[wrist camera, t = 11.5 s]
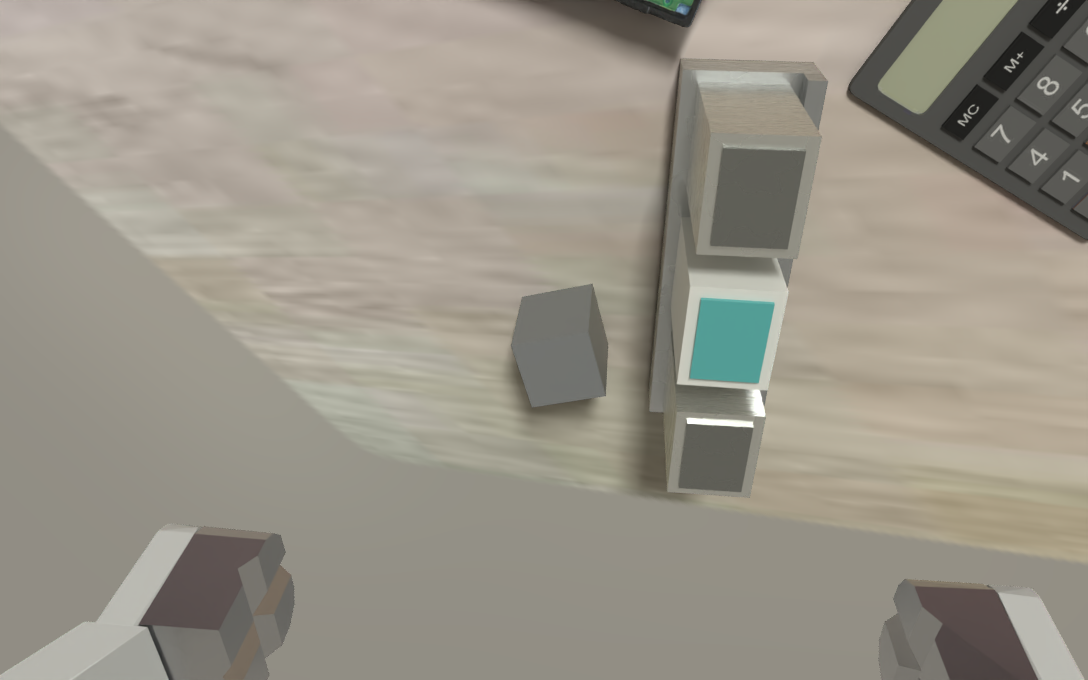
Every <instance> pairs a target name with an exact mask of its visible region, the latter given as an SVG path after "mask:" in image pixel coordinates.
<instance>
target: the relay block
mask: <svg viewBox="0 0 1088 680" xmlns="http://www.w3.org/2000/svg"><path fill="white" fill-rule="evenodd" d="M511 347H512V350H513V353H514V356H515V359H516V362H517V365H518V368H519V371H520V373H521V376H522V379H523V382H524V385H525V388H526V391H527V394H528V397H529V400H530V403H531V406H532V407H538V406H545V405H551V404H558V403H564V402H571V401H577V400H583V399H590V398H596V397H603V396H606V380H607V358H608V342H607V338H606V334H605V330H604V326H603V323H602V319H601V315H600V311H599V307H598V303H597V300H596V296H595V292H594V288H593V284H589V285H584V286H578V287H573V288H568V289H562V290H557V291H552V292H546V293H541V294H536V295H531V296H525V297H522V301H521V305H520V309H519V314H518V318H517V322H516V327H515V331H514V335H513V340H512V344H511Z"/></svg>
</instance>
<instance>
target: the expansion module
mask: <svg viewBox="0 0 1088 680" xmlns="http://www.w3.org/2000/svg"><path fill="white" fill-rule="evenodd" d="M788 293H789V292H788V289H787V286H786V283H785V280H784V277H783V274H782V271H781V268H780V265H779V262H778V259H777V258H763V257H741V256H719V255H698V254H696V250H695V243H694V237H693V230H692V224H691V217H681V224H680V232H679V240H678V248H677V256H676V264H675V272H674V280H673V289H672V297H671V305H670V306H671V318H672V331H673V343H674V355H675V367H676V379H677V384H681V385H695V386H710V387H724V388H739V389H753V390H767V391H768V386H769V382H770V377H771V372H772V368H773V363H774V358H775V354H776V349H777V344H778V340H779V335H780V330H781V326H782V321H783V316H784V312H785V307H786V302H787V298H788Z"/></svg>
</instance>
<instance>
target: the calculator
mask: <svg viewBox="0 0 1088 680" xmlns="http://www.w3.org/2000/svg"><path fill="white" fill-rule="evenodd" d="M849 90H850V92H851V93H852V94H853V95H854V96H856V97H857V98H859V99H861V100H862V101H864V102H865V103H867V104H869V105H870V106H872V107H873V108H875V109H877V110H878V111H880V112H881V113H883V114H885V115H886V116H888V117H890V118H891V119H893V120H894V121H896V122H898V123H899V124H901V125H902V126H904V127H906V128H907V129H909V130H910V131H912V132H914V133H915V134H917V135H918V136H920V137H922V138H923V139H925V140H927V141H928V142H930V143H931V144H933V145H935V146H936V147H938V148H939V149H941V150H943V151H944V152H946V153H947V154H949V155H951V156H952V157H954V158H955V159H957V160H959V161H960V162H962V163H963V164H965V165H967V166H968V167H970V168H972V169H973V170H975V171H976V172H978V173H980V174H981V175H983V176H984V177H986V178H988V179H989V180H991V181H992V182H994V183H996V184H997V185H999V186H1000V187H1002V188H1004V189H1005V190H1007V191H1009V192H1010V193H1012V194H1013V195H1015V196H1017V197H1018V198H1020V199H1021V200H1023V201H1025V202H1026V203H1028V204H1029V205H1031V206H1033V207H1034V208H1036V209H1037V210H1039V211H1041V212H1042V213H1044V214H1046V215H1047V216H1049V217H1050V218H1052V219H1054V220H1055V221H1057V222H1058V223H1060V224H1062V225H1063V226H1065V227H1066V228H1068V229H1070V230H1071V231H1073V232H1074V233H1076V234H1078V235H1079V236H1081V237H1082V238H1084V239H1087V240H1088V0H912V1H911V2H910V3H909V5H908V6H907V7H906V9H905V10H904V11H903V13H902V14H901V15H900V17H899V18H898V19H897V20H896V22H895V23H894V24H893V26H892V27H891V28H890V30H889V31H888V32H887V34H886V35H885V36H884V38H883V39H882V40H881V42H880V43H879V44H878V46H877V47H876V48H875V50H874V51H873V52H872V54H871V55H870V56H869V57H868V59H867V60H866V61H865V63H864V64H863V65H862V67H861V68H860V69H859V71H858V72H857V73H856V75H855V76H854V77H853V79H852V80H851V82H850V84H849Z"/></svg>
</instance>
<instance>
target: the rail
mask: <svg viewBox="0 0 1088 680" xmlns="http://www.w3.org/2000/svg"><path fill="white" fill-rule="evenodd" d="M827 84H828V81H827V79H826V78H825V77H824V75H823V74H822V73H821V71H820V70H819V69H818V68H817V66H816V65H815V64H814V62H781V61H746V60H710V59H680V70H679V80H678V91H677V101H676V112H675V122H674V132H673V143H672V153H671V164H670V174H669V185H668V195H667V205H666V216H665V226H664V237H663V247H662V257H661V268H660V278H659V289H658V299H657V310H656V320H655V330H654V341H653V351H652V362H651V372H650V383H649V412H663V424H664V442H665V461H666V479H667V492H674V493H689V494H703V495H718V496H732V497H747V498H750V494H751V489H752V484H753V479H754V474H755V469H756V464H757V459H758V454H759V449H760V444H761V439H762V434H763V429H764V424H765V419H766V415H765V411H764V405H765V400H766V395H767V390H753V389H739V388H724V387H710V386H695V385H681V384H677V379H676V367H675V355H674V343H673V331H672V318H671V306H670V305H671V297H672V289H673V280H674V272H675V264H676V256H677V248H678V240H679V232H680V224H681V217H691V224H692V230H693V237H694V243H695V250H696V254H698V255H719V256H741V257H763V258H777V259H778V262H779V265H780V268H781V271H782V274H783V277H784V280H785V283H786V286H787V288H788V283H789V278H790V273H791V267H792V262H793V259H797V258H798V253H799V248H800V243H801V238H802V233H803V228H804V223H805V218H806V213H807V208H808V203H809V198H810V193H811V188H812V183H813V178H814V173H815V168H816V163H817V158H818V153H819V148H820V143H821V138H822V136H821V134H820V133H819V131H818V130H819V125H820V120H821V115H822V109H823V104H824V99H825V94H826V89H827Z"/></svg>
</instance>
